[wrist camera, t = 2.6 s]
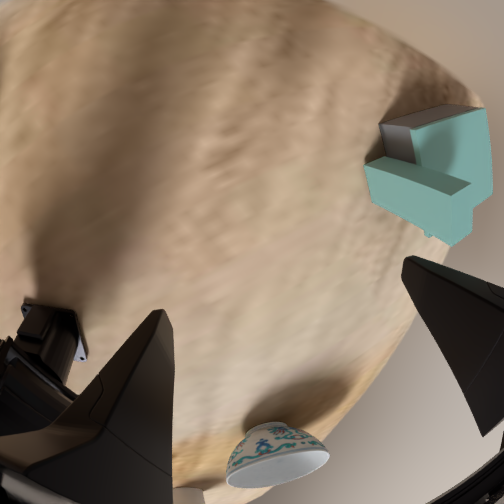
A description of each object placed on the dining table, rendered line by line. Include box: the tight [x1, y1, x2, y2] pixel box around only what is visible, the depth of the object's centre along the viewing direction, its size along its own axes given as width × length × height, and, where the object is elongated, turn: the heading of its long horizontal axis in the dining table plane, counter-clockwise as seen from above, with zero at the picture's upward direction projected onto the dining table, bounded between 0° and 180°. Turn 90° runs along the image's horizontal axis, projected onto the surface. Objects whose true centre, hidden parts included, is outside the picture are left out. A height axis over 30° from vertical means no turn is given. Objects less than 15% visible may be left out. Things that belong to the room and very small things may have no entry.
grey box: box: [379, 104, 478, 165], centre depth 20 cm, size 10×9×4 cm
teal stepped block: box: [363, 108, 493, 247], centre depth 17 cm, size 14×9×10 cm, turn 112°
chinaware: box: [226, 422, 330, 488], centre depth 33 cm, size 15×15×8 cm
